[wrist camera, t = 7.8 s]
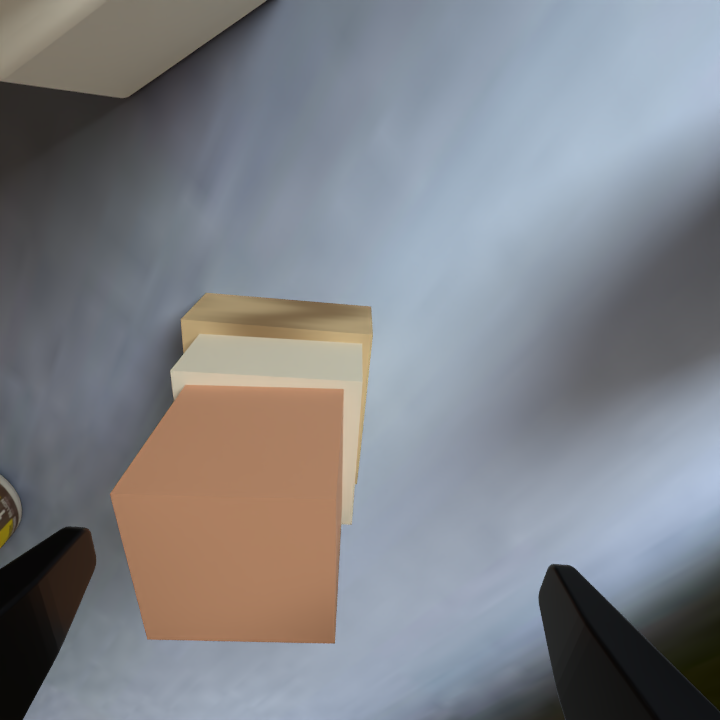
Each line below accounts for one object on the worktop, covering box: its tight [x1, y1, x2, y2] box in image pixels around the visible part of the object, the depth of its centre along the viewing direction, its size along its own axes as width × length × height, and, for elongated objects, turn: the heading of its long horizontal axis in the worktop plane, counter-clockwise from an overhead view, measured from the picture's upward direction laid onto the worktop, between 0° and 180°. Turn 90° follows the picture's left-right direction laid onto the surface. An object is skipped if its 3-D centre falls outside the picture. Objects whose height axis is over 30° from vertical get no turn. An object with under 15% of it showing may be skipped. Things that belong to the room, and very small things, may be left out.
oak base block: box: [181, 293, 373, 484], centre depth 20 cm, size 7×7×4 cm
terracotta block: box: [110, 385, 344, 643], centre depth 14 cm, size 5×5×5 cm
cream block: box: [170, 334, 363, 525], centre depth 18 cm, size 6×6×3 cm
